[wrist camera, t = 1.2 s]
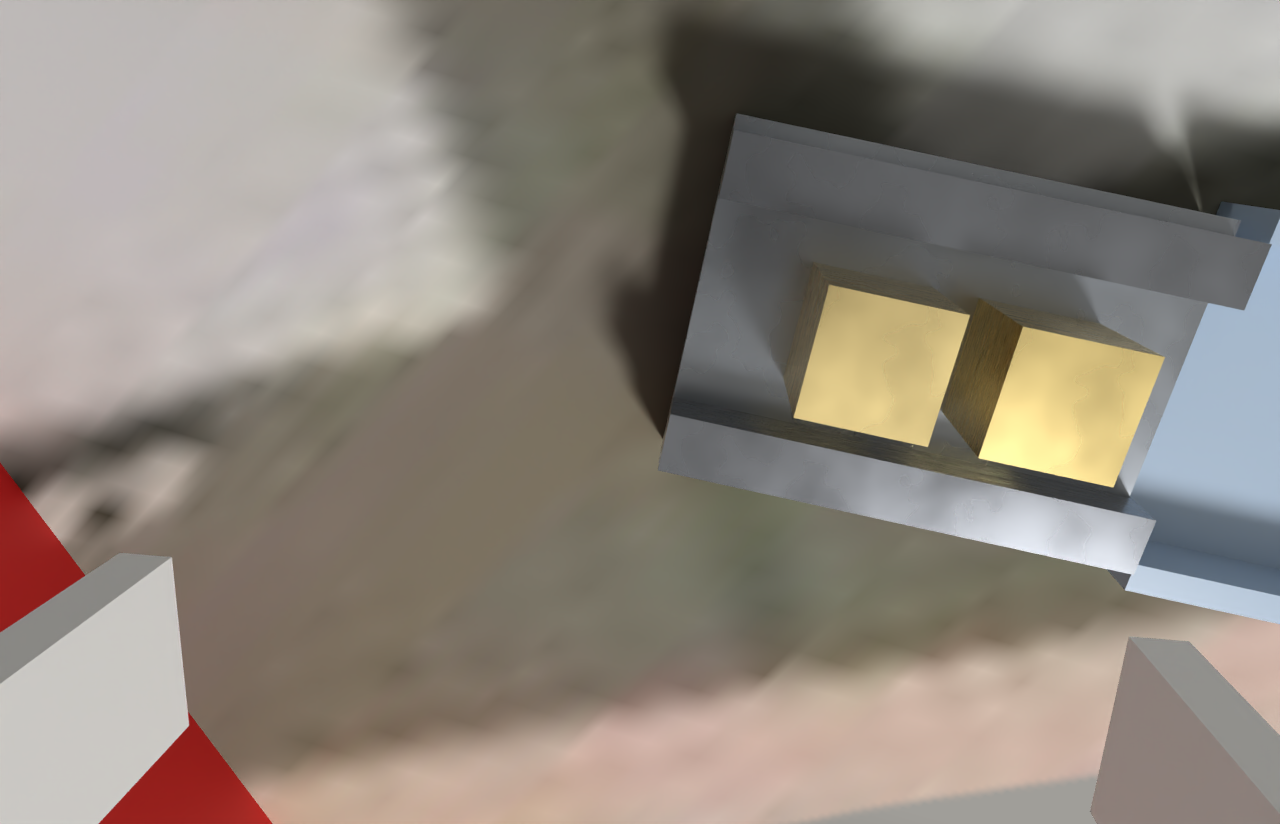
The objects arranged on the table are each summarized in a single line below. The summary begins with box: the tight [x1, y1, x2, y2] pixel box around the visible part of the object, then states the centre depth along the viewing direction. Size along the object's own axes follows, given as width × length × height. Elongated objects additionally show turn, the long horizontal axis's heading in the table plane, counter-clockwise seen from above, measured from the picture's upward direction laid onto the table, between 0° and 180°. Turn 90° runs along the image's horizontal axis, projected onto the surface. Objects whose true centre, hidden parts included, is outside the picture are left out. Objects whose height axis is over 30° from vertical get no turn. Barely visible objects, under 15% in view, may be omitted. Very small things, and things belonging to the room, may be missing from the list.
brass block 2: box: [942, 298, 1165, 487], centre depth 28 cm, size 4×4×4 cm
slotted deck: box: [658, 114, 1272, 575], centre depth 30 cm, size 12×16×4 cm
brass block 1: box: [783, 262, 970, 447], centre depth 28 cm, size 4×4×4 cm
